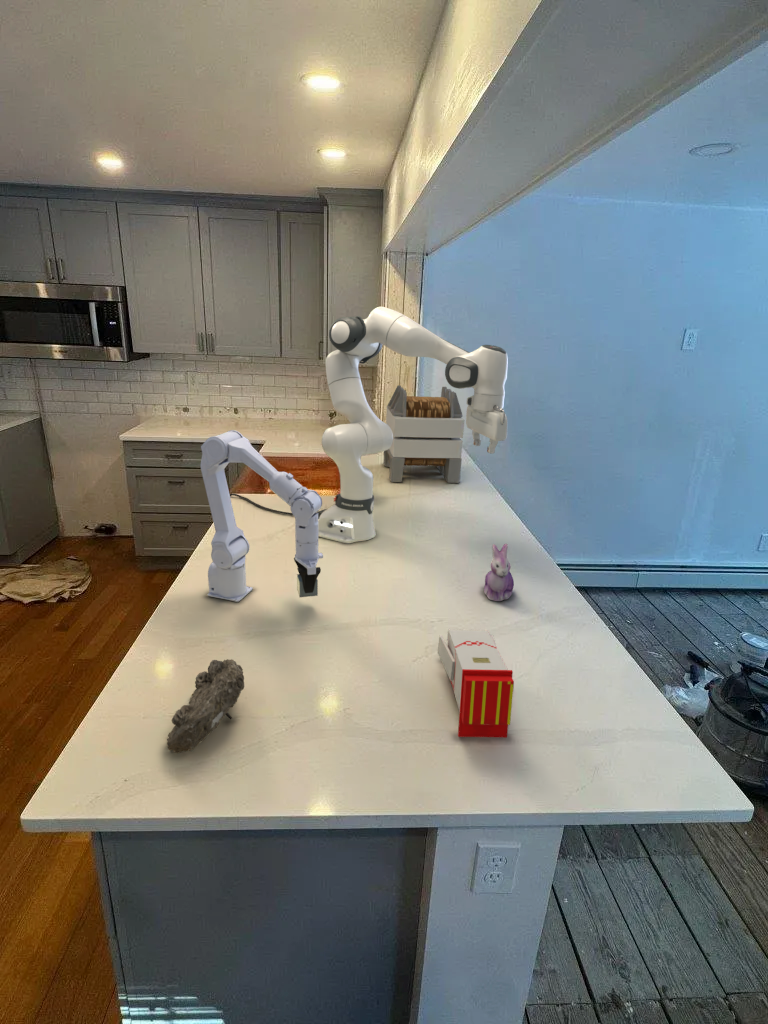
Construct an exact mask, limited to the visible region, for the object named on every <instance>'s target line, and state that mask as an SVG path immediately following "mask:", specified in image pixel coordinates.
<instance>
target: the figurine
mask: <svg viewBox="0 0 768 1024" xmlns="http://www.w3.org/2000/svg"><path fill="white" fill-rule="evenodd" d="M491 547H492V548H491V549H492V560H491V562H490V571H488V572H487V573H486V574H485V577H484V587H483V592H484V595H485V596H486V597H487V598H488V600H491V601H494V602H495V601H496V602H502V601H503V600H509V598H510V597H511V596H512V594H513V590H514V587H515V581H514V577H513V574H512V572H511V567H512V566H511V563H510V560H509V558H508V549H509V545H508V544H507V543H504V544H503V545H502V547H501V549H500V550H499V548H498V546H497V545H496V544H494V543H493V544H492V546H491Z"/></svg>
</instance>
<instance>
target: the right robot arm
mask: <svg viewBox="0 0 768 1024" xmlns="http://www.w3.org/2000/svg"><path fill="white" fill-rule="evenodd" d="M328 337H329V341H330V344H331V345H332V346H333V347H334V348H335V349H336V350H333V351H331V352H329V354H328V355H327V356H326V358H325V375H326V382H327V386H328V391H329V395H330V401H331V404H332V408H333V410H334V411H335V412H336V413H338V414H339V415H341V416H343V417H344V418H346V419H347V420H348V422H349V423H342V424H341V423H340V424H337V425H333V426H331V427H327V428H326V429H325V430H324V432H323V433H322V435H321V447H322V450H323V452H324V453H325V455H326V456H327V457H329V458H330V459H332V461H333V462H334V464H335V465H336V467H337V470H338V473H339V482H340V484H339V485H340V488H339V489H340V490H339V491H338V492H337V494H336V495H335V496H334V497H333V502H334V504H333V505H331V506H329V507H327V508H324V509H320V510H319V511H317V512H318V538H323V539H326V540H330V541H336V542H339V543H343V544H352V543H357V542H365V541H368V540H372V539H373V538H375V537H376V535H377V532H376V528H375V523H374V513H373V512H374V509H375V496H374V474H373V472H372V471H371V469H369V468H368V467H366V466H364V465H362V457H364V456H373V455H378V454H380V453H384V451H386V450H388V449H389V448H390V447H391V445H392V442H393V433H392V430H391V428H390V427H389V426H388V425H387V423H386V422H384V421H382V420H381V418H379V417H378V416H377V415H376V413H375V412H374V411H373V409H372V408H371V406H370V405H369V403H368V401H367V397H366V393H365V390H364V387H363V386H364V385H363V383H362V379H361V375H360V370H359V364H365V363H367V362H368V361H369V360H371V359H372V358H375V357H376V356H377V355H379V353H380V352H381V351H382V348H383V346H384V347H387V348H388V349H389V350H391V351H393V352H394V353H397V354H398V355H402V356H405V357H410V358H411V357H412V358H430V359H434V360H437V361H440V362H441V363H443V364H445V368H444V377H445V380H446V382H447V383H448V385H449V386H450V387H452V388H455V389H458V390H463V389H470V388H472V389H473V395H470V396H469V397H467V398H466V405H467V407H466V415H465V424H466V427H467V428H468V429H470V430H472V432H471V435H472V439H473V441H472V445H473V446H475V447H480V446H481V443H482V440H481V435H482V436H483V437H486V438H488V439H489V445H488V446H487V448H486V452H487V453H488V454H492V455H493V454H495V452H496V447H497V445H498V444H499V442H504V441H506V440H507V437H508V416H507V414H506V412H505V409H504V404H505V397H506V396H505V395H506V391H505V384H506V381H507V379H508V365H509V364H508V363H509V360H508V359H509V358H508V353H507V351H506V350H505V349H504V348H502V347H501V346H497V345H492V344H482V345H481V346H479V347H478V348H477V349H474V350H473V351H467V350H465V349H463V348H461V347H459V346H457V345H456V344H454V343H451V342H450V341H448V340H446V339H444V338H442V337H440V336H438V335H437V334H435V333H434V332H432V331H431V330H429V329H427V328H426V327H424V326H423V325H421V324H420V323H418V322H417V321H415V320H413V319H412V318H411V317H409V316H407V315H405V314H403V313H402V312H400V311H398V310H395V309H392V308H389V307H386V306H378V307H374V308H373V309H372V310H371V311H370V313H368V316H367V317H366V318H364V319H363V318H362V317H361V316H360V315H355V316H343V317H338V318H337V319H335V320H334V321H333V322H332V323H331V325H330V327H329V331H328ZM229 494H230V497H232V496H234V497H238V498H240V499H243V500H245V501H247V502H248V503H250V504H252V505H254V506H256V507H258V508H260V509H263V510H267V511H269V512H273V513H278V514H283V515H289V516H294V515H293V514H292V512H288V511H281V510H277V509H273V508H269V507H266V506H263V505H260V504H259V503H256V502H254V501H252V500H251V499H249V498H247V497H245V496H244V495H243V496H242V495H240V494H237V493H229Z"/></svg>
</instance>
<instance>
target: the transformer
mask: <svg viewBox="0 0 768 1024" xmlns="http://www.w3.org/2000/svg"><path fill="white" fill-rule="evenodd" d="M440 393H441V394H440V396H415V395H414V396H413V395H412V396H411V395H407V394H408V393H407V390H406V389H404V388H403V387H402V385H399V384H398V385H397V386H396V388H395V390H394V392H393V394H392V395H391V398H390V400H389V402H388V404H387V405H386V413H385V414H386V415H385V423H386V424H387V425H388V426H389V427H390V428H391V430H392V433H393V442H392V445H391V447H390V448H389V449H388V450H386V451H383V466H384V467H388V468H389V475H388V476H389V477H388V478H389V480H390V482H391V483H402V482H403V475H404V469H405V466H406V467H407V466H411V467H412V466H413V467H415V466H416V467H417V466H418V467H436V468H437V470H438V469H439V473H440V474H441V475H443V478H444V479H445V481H446V482H447V483H449V484H455V483H456V484H459V483H461V472H462V461H463V460H462V453H463V442H464V441H463V440H462V439H463V438H464V431H465V430H464V429H465V422H466V419H464V418H463V411H462V408H461V405H460V402H459V398H458V395H457V392H455V391H453V390H452V389H451V388H447V386H442V387H441V392H440Z"/></svg>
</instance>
